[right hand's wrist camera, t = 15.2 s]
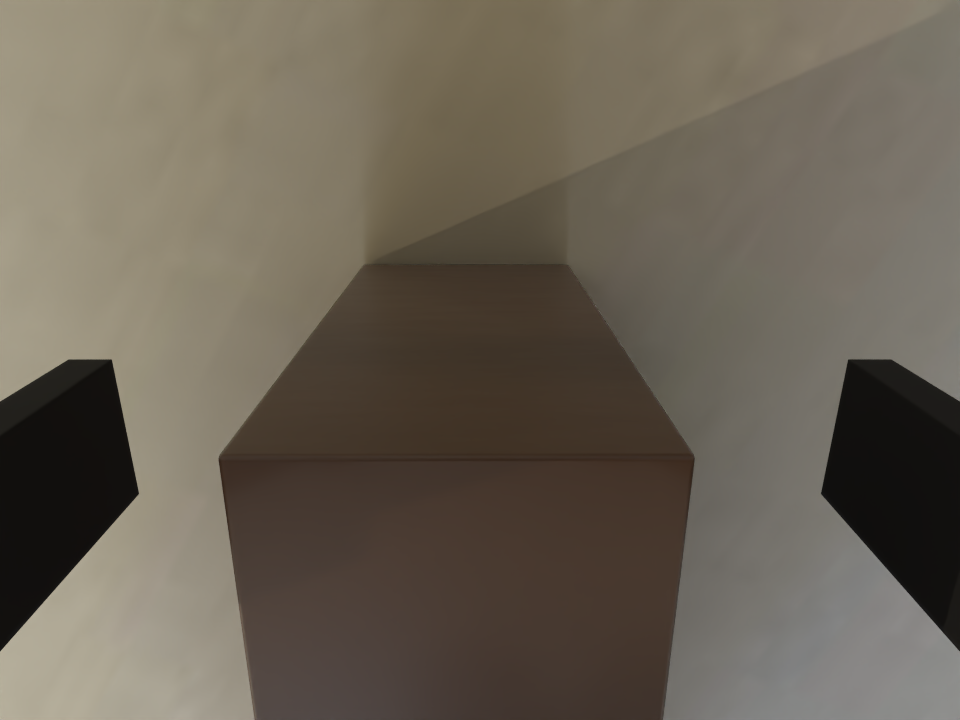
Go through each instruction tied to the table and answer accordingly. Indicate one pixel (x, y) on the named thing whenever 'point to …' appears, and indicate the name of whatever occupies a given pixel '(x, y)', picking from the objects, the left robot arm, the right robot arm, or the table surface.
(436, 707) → the walnut box
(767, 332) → the table surface
